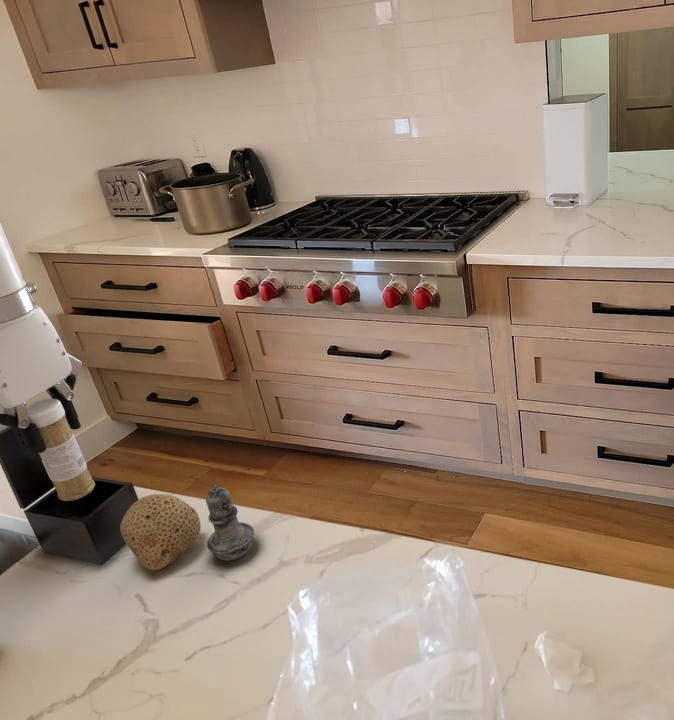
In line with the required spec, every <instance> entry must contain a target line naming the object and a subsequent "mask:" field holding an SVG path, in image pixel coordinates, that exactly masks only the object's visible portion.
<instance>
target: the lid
mask: <svg viewBox="0 0 674 720" xmlns="http://www.w3.org/2000/svg"><path fill="white" fill-rule="evenodd" d="M0 467H1V469H2V471H3V474H4V475H5V478H6V480H7V482H8V484H9V487H10V489H11V491H12V494H13V495H14V498H15V500H16V502H17V504H18V506H19V509H21V510H26V509H28V508H29V507H30V506H32V505H33V504H34V503H36V502H37V501H39V500H40V499H41V498H43V497H44V496H45V495H47V494H48V493H50V492H51V491H52V490H54V489H55V486H54V484H53V482H52V480H51V479H50V477H49V475H48V473H47V471H46V469H45V467H44V464H43V462H42V459H41V457H40V455H39V453H37V452H30V451H26V450H24V449H23V448H22V447H21V446H20V444H19V442H18V440H17V438H16V436H15V434H14V432H13V430H12V427H9V426H5V425H1V424H0Z"/></svg>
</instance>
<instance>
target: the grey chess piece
mask: <svg viewBox="0 0 674 720" xmlns="http://www.w3.org/2000/svg"><path fill="white" fill-rule="evenodd" d="M205 502H206V505H207V508H208V511H209V514H208V522H209V523H211V524H212V526H213V529H214V532H213V533H211V535H210V536H209V537H208V539H207V541H206V547H207V550H208V551H209V552H211V553H212V554H213V555H214V556H215V557H216V558H217V559H219V560H222V561H236V560H238V559H240V558H242V557H244V556H245V555H246V554H247V553H248V552H249V551H250V549H251V548H252V545H253V540H254V534H255V529H254V527H253V526H252V525H250V524H249V523H246V522H239V519H238V516H237V514H238V508H237V507H236V505H233V501H232V498H231V495H230V492H229V491H228V490H227V489H226V488H224V487H218V486H217V485H216V484H212V486H211V490H209V491H208V492H207V494H206V496H205Z"/></svg>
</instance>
